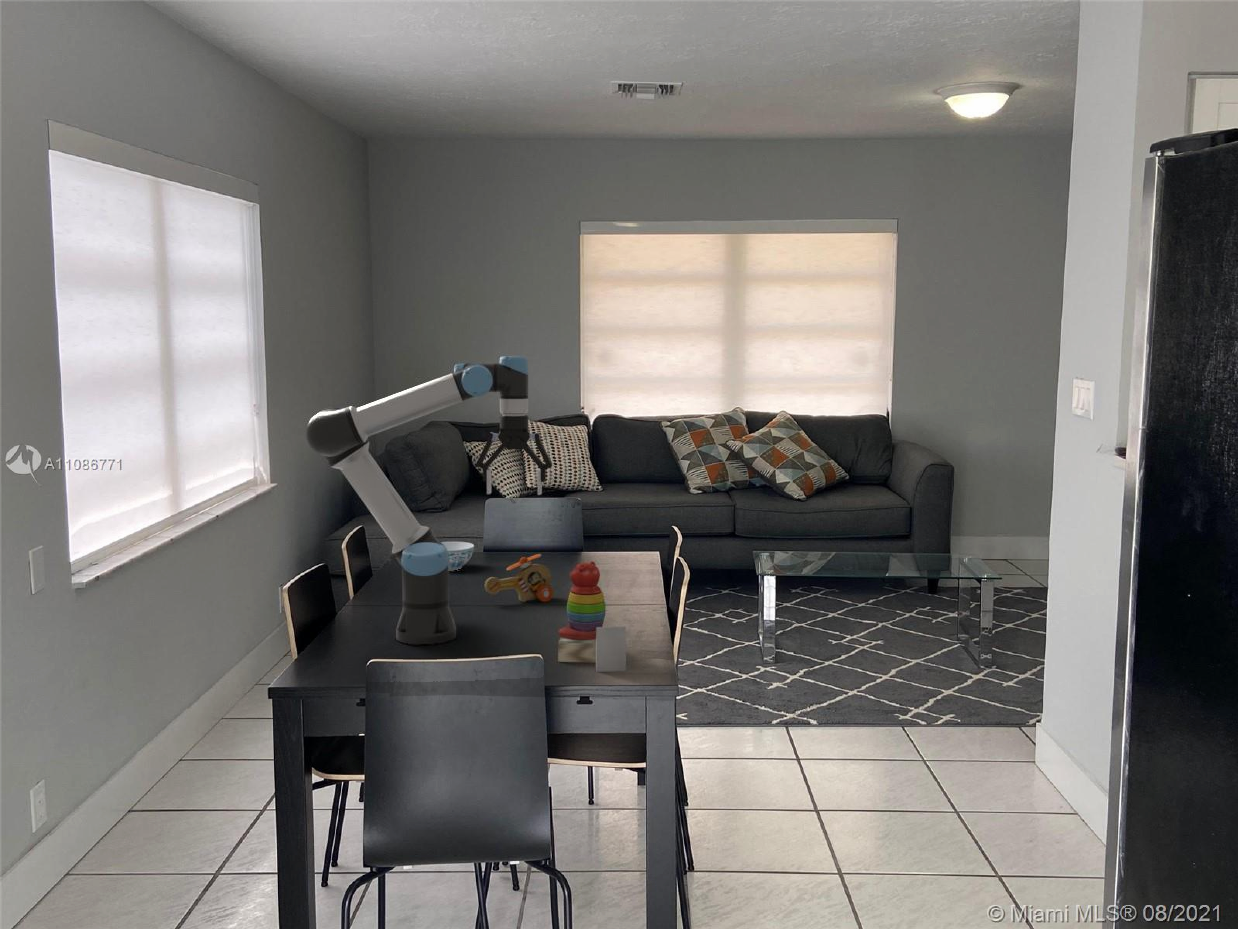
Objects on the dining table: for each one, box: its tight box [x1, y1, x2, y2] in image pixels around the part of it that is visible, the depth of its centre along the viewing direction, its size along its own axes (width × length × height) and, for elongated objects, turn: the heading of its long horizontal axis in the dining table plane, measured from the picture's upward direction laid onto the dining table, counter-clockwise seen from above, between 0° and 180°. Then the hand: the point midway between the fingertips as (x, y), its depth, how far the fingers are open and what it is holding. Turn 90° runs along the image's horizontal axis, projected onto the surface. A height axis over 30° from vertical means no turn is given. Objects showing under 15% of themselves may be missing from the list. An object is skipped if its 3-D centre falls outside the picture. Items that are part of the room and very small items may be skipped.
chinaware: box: [440, 541, 475, 572], centre depth 358 cm, size 15×15×8 cm
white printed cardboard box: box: [595, 626, 627, 673], centre depth 252 cm, size 4×7×10 cm, turn 96°
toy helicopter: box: [484, 553, 554, 603], centre depth 314 cm, size 8×21×14 cm, turn 121°
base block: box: [557, 637, 596, 664], centre depth 263 cm, size 12×12×5 cm
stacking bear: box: [557, 561, 607, 640], centre depth 262 cm, size 11×10×18 cm
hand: (514, 494), depth 290 cm, fingers open, 13 cm apart
